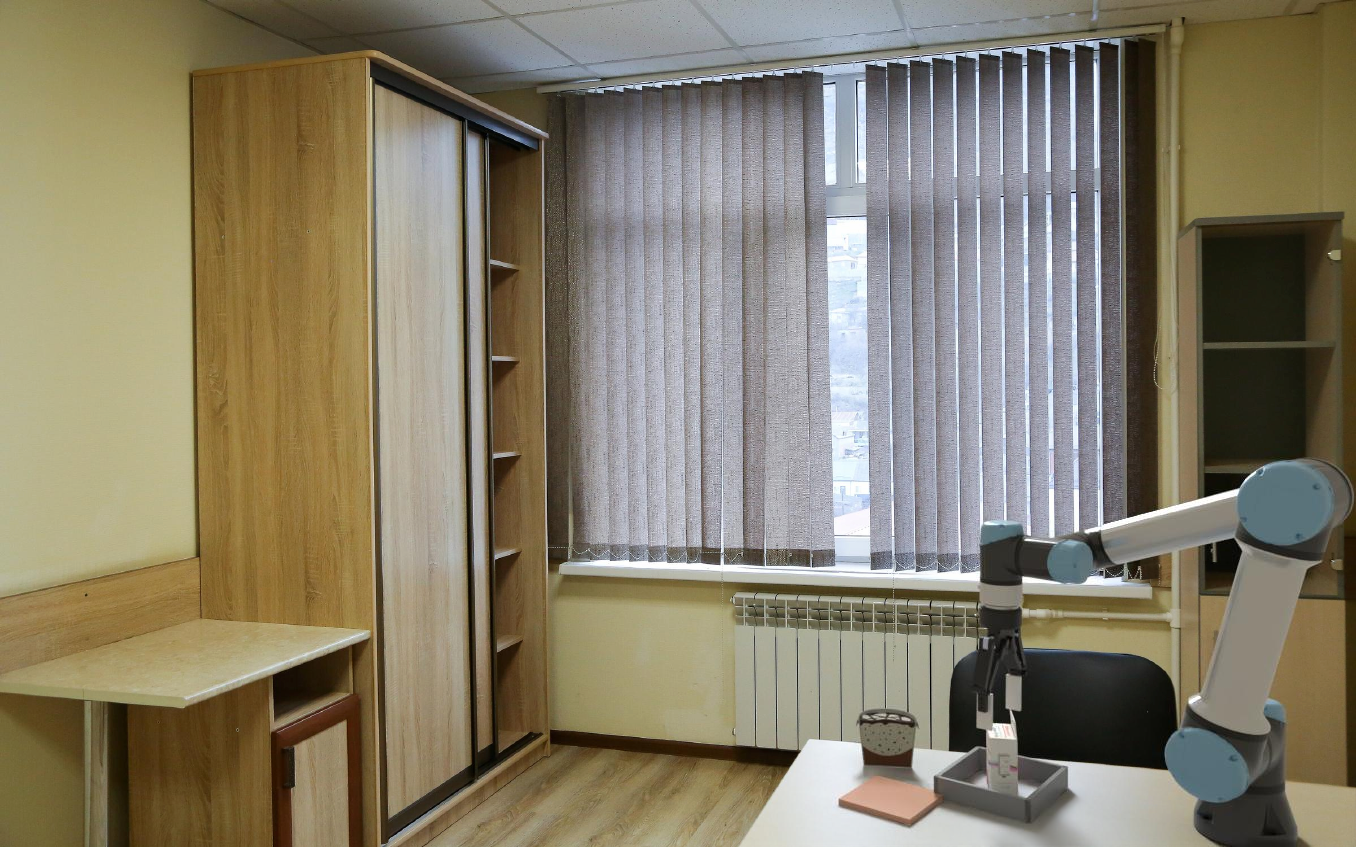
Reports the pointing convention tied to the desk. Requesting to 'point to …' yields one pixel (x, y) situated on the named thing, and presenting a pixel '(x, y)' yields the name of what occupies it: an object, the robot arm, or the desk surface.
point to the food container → (887, 737)
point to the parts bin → (998, 801)
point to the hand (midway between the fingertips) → (999, 718)
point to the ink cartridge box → (1002, 757)
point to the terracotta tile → (891, 799)
